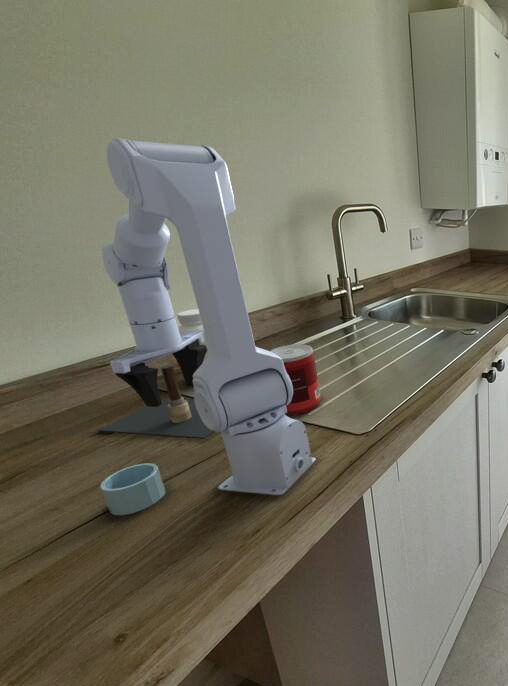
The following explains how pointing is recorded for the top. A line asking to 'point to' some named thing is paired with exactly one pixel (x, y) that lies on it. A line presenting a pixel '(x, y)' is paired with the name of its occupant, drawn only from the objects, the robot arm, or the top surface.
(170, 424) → the mat
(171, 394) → the brush
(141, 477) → the bowl
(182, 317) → the pill bottle
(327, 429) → the top surface
